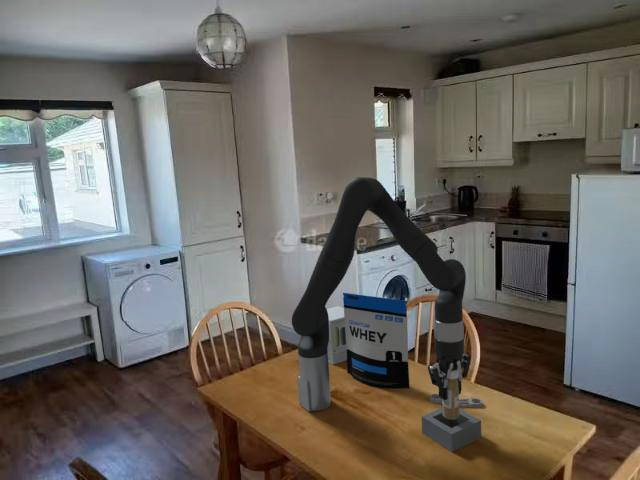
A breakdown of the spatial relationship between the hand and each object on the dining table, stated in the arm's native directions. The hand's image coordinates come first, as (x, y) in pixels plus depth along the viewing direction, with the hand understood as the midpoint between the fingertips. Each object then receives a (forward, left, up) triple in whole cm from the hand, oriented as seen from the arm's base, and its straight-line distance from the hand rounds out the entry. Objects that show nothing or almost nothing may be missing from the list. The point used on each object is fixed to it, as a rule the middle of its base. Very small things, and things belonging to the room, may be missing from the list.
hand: (450, 395), depth 130 cm
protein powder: (+4, +38, -12) cm, 40 cm away
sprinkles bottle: (0, 0, -6) cm, 6 cm away
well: (0, 0, -11) cm, 11 cm away
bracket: (+14, +11, -12) cm, 22 cm away
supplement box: (+5, +65, -12) cm, 67 cm away
